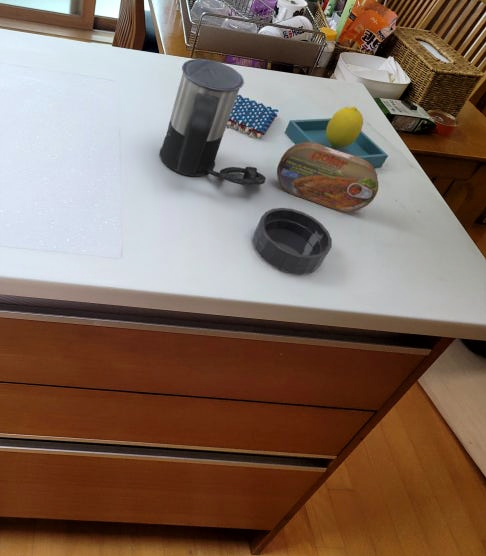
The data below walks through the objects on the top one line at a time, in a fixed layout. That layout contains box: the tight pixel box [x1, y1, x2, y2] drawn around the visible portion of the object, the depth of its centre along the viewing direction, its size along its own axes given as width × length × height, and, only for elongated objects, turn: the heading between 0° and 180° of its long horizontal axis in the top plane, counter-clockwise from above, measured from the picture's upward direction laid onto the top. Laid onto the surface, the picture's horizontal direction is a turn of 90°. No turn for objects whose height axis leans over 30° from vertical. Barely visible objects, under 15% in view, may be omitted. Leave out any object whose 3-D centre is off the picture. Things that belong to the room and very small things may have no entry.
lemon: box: [326, 106, 364, 148], centre depth 96 cm, size 6×6×8 cm
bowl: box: [252, 207, 333, 275], centre depth 76 cm, size 10×10×4 cm
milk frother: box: [159, 58, 267, 186], centre depth 82 cm, size 14×16×15 cm
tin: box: [276, 142, 379, 213], centre depth 84 cm, size 15×3×8 cm, turn 68°
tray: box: [284, 117, 389, 169], centre depth 98 cm, size 13×12×2 cm
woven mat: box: [227, 94, 279, 139], centre depth 100 cm, size 10×11×2 cm
